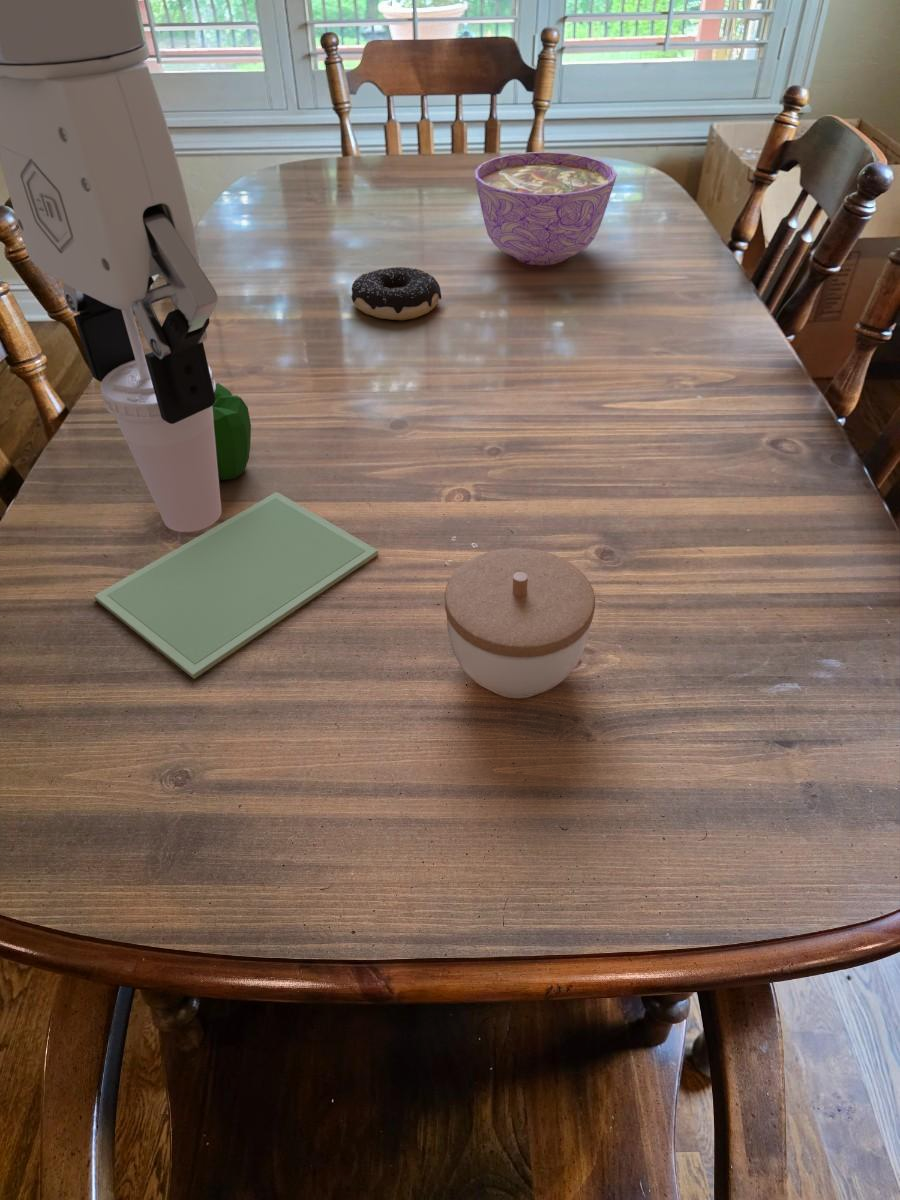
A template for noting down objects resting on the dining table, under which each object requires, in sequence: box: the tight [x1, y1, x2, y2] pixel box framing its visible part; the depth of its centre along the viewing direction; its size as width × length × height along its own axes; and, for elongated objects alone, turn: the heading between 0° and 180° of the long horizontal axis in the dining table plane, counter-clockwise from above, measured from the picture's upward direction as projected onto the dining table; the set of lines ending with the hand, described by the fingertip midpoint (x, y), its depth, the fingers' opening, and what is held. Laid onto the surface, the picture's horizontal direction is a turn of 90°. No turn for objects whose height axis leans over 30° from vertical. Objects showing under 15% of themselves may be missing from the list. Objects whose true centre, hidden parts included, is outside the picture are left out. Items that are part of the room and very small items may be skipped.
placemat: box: [93, 491, 379, 680], centre depth 75 cm, size 20×14×1 cm
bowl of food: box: [474, 151, 618, 266], centre depth 126 cm, size 20×20×12 cm
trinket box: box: [444, 547, 596, 699], centre depth 64 cm, size 11×11×9 cm
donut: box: [350, 266, 442, 321], centre depth 116 cm, size 11×12×4 cm
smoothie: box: [99, 307, 222, 533], centre depth 52 cm, size 6×6×14 cm
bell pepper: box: [212, 382, 252, 481], centre depth 85 cm, size 8×8×10 cm
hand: (153, 389), depth 50 cm, fingers closed on smoothie, 6 cm apart
